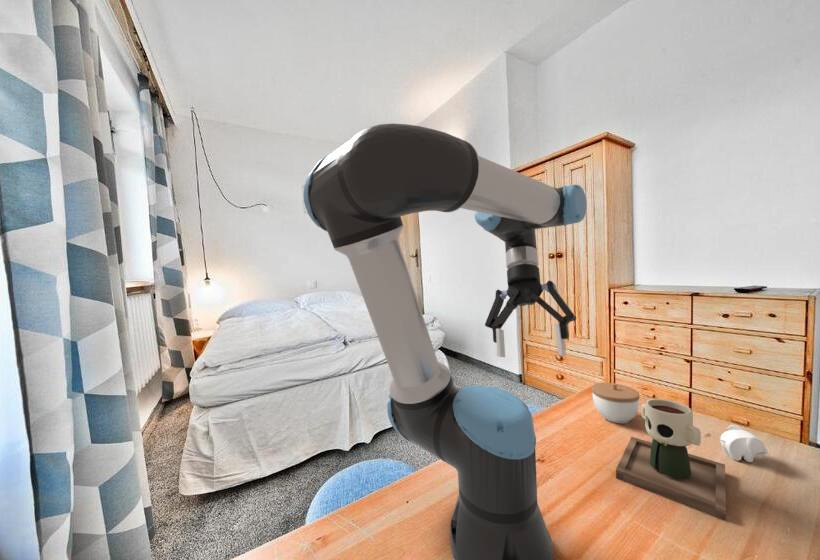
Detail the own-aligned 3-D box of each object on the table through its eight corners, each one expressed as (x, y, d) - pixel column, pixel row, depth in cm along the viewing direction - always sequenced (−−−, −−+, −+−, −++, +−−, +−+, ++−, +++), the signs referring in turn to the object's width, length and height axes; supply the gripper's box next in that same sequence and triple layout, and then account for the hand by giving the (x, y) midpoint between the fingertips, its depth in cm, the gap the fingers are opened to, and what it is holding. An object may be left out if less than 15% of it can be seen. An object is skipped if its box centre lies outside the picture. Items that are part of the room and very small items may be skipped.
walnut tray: (726, 521, 48) (726, 510, 48) (616, 478, 59) (615, 469, 59) (725, 473, 59) (724, 464, 59) (631, 444, 69) (631, 436, 69)
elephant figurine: (781, 471, 58) (780, 442, 58) (728, 465, 61) (727, 436, 61) (754, 451, 65) (754, 424, 64) (707, 446, 67) (707, 420, 67)
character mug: (629, 456, 64) (627, 397, 63) (657, 451, 65) (655, 392, 64) (685, 494, 53) (683, 422, 52) (717, 486, 54) (715, 416, 54)
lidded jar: (650, 427, 76) (649, 391, 76) (608, 429, 76) (607, 393, 76) (621, 407, 87) (620, 375, 86) (584, 409, 87) (583, 377, 87)
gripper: (582, 262, 69) (597, 356, 62) (484, 281, 85) (487, 358, 77) (573, 250, 63) (588, 352, 56) (470, 273, 79) (472, 355, 72)
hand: (529, 356), depth 67 cm, fingers open, 13 cm apart
